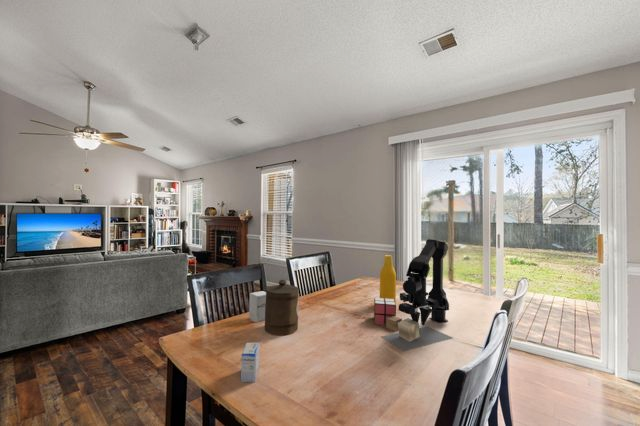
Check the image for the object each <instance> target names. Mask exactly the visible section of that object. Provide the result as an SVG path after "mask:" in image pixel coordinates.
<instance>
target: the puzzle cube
mask: <svg viewBox="0 0 640 426" xmlns="http://www.w3.org/2000/svg"><path fill="white" fill-rule="evenodd" d="M373 299H374V301H373V304H374V306H373V323H374V324H375V325H376V324H377V325H386V318H387V317H390V316H396V317H397V303H396V304H395V300H394V299H384V298H380V297H375V298H373Z"/></svg>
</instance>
